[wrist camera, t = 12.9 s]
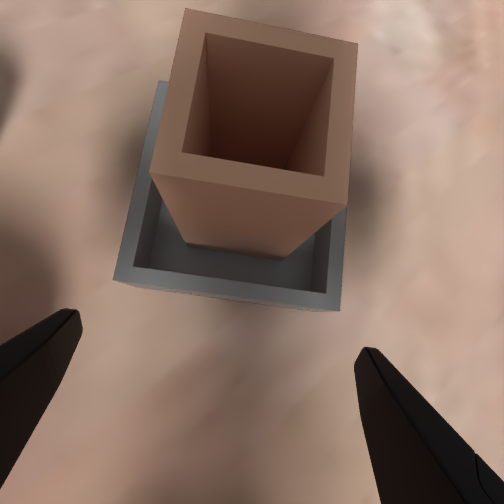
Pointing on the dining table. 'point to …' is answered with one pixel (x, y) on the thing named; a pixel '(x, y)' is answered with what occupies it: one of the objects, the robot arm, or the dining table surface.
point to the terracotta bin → (254, 134)
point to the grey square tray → (222, 263)
